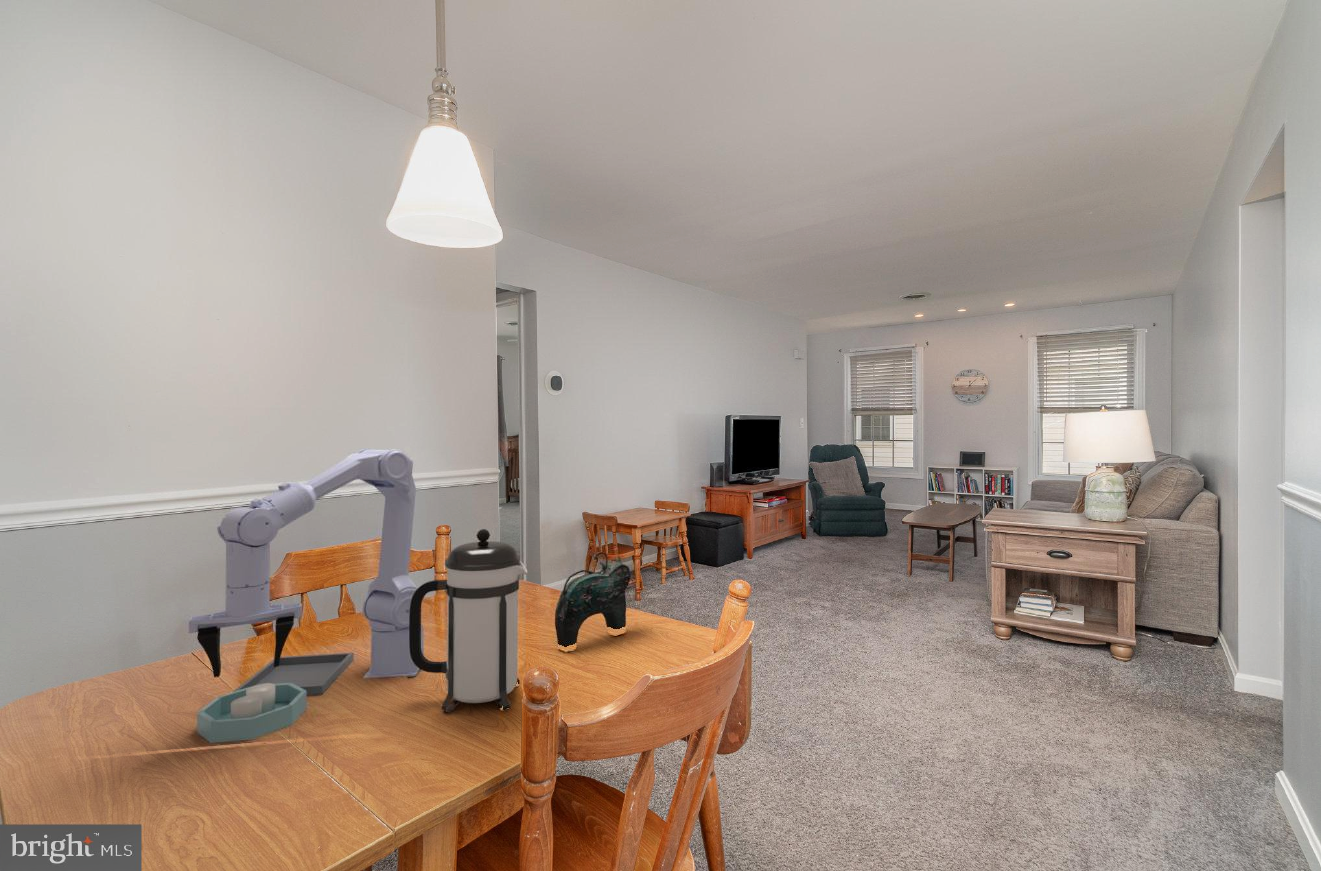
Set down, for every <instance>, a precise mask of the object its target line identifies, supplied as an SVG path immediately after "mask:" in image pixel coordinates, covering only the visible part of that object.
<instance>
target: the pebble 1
mask: <svg viewBox="0 0 1321 871" xmlns="http://www.w3.org/2000/svg"><path fill="white" fill-rule="evenodd" d="M260 714H262V696H260V695H249V696H244V697H241V698H238V699H236V700H234V701H233V702H232V703H231V719H236V718H249V717H255V716H257V715H260Z"/></svg>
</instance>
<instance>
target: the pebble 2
mask: <svg viewBox="0 0 1321 871" xmlns="http://www.w3.org/2000/svg"><path fill="white" fill-rule="evenodd" d="M249 695H260V696H262V714H263V713H266V712H269V711H272V710H275V684H272V683H265V684H259V685H255V686H253V687H250V688H248V689H247V690H246V696H249Z"/></svg>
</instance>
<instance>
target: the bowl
mask: <svg viewBox="0 0 1321 871" xmlns="http://www.w3.org/2000/svg"><path fill="white" fill-rule="evenodd" d="M252 687H253V686H252ZM248 688H250V687H248ZM248 688H245V689H242V690H238V691H235V692H233V691H231V692H229V693H226V694H223V695H220V696H219V695H218V696H217V697H215V698H214V699H213V700H211V701H210V702H209V703H208V704H206V705H205V706H204V707H202V708H201V709H200V710H199V711H197V712H196V733H197V734H199V735H200V736H201V737H202V738H204V739H205V740H207V742H208V743H210V744H212V745H210V747H213V746H214V747H215V746H216V744H213V743H222V744H221V746H225V745H226V746H227V745H228V742H235V743H233V745H236V744H237V745H238V744H240V742H239V741H248V742H245V744H252V740H254V739H257V738H260V737H262V736H265V735H268V734H271V733H274V732H277V731H278V730H281V729H283V728H287V727H290V726H292V725H293V724H294V723H295V722H296V721H297V720H298V719H299V717H300V716H301V715H302V714H304V712H305V711H306V710H307V706H308V705H307V700H308V699H307V698H308V697H307V691H306V690H304V689H302V688H300V687H298V686H297V685H295V684H293V683H281V684H275V710H272V711H269V712H266V713H263V714H260V715H257V716H255V717H249V718H236V719H231V703H232V702H233V701H234V700H236V699H238V698H241V697H244V696H246V690H247V689H248ZM250 740H251V741H250ZM236 741H237V743H236ZM224 742H225V743H224ZM226 742H227V743H226ZM238 742H239V743H238ZM223 743H224V744H223Z"/></svg>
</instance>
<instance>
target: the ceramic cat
mask: <svg viewBox="0 0 1321 871" xmlns="http://www.w3.org/2000/svg"><path fill="white" fill-rule="evenodd" d="M599 555H604V556H605V558H606V560H605V562H603V561H599V564H600V565H601V566H602V567H601V569H600V571H591V570H586V569H582V570H578V571H575V572H574V573H572V574H571V575H569V576H568V577H567V579H566V580H565V583H564V586H563V590H561V592H560V595H559V599H558V601H557V603H556V607H555V612H554V626H555V633H556V640H557V645H558V644H559V645H562V646H564V647H567V646H569V645H573V644H575V643H577V642H578V636H579V631H580V629H581V627H582V625H583V623H584V622H585V621H586V620H587V619H588V618H590V617H592V616H595V615H598V614H602V616H603V617H604V620H605V624H606V628H607V627H611V628H613V629H620V628H622V627H625V626H627V617H626V616H627V615H626V614H627V613H626V612H627V599H626V598H627V597H626V589H627V587H628V585H629V584H630V581H631V571H630V567H629V566H628V565H627V564H624V563H623V562H622V560H621V557H619V556H618V555H617V556H616V559H615V561H610V562H608V561H609V560H608V555H607V554H606V553H605V552H602V551H598V552H597V553H595V554H594V556H593V559H594V560H596V559H597V557H598V556H599ZM580 573H584V574H582V575H580V576H577V577H575V578H572V577H574V576H576V575H578V574H580ZM571 578H572V580H571ZM569 581H570V582H569Z"/></svg>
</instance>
